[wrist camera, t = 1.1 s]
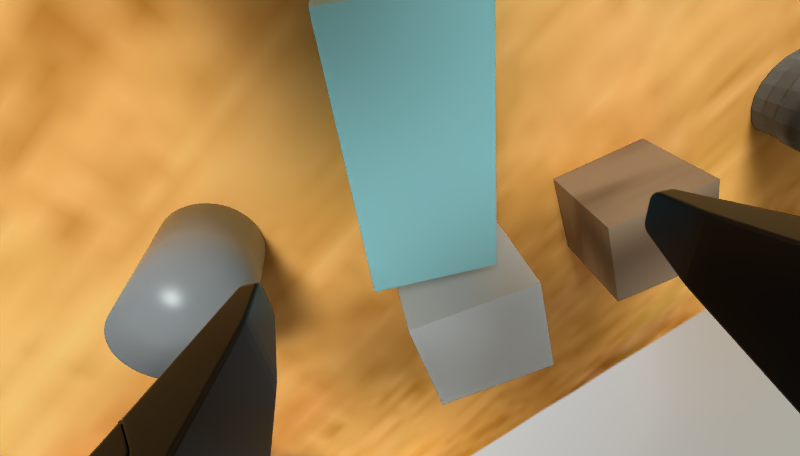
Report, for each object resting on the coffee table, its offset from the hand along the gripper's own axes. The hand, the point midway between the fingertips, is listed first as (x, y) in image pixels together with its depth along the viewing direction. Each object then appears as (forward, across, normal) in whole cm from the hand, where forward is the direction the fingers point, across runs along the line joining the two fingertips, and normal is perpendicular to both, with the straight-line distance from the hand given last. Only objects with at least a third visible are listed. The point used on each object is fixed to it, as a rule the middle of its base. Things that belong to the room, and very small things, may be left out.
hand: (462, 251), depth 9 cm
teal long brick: (+11, 0, 0) cm, 11 cm away
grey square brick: (+11, -2, +10) cm, 15 cm away
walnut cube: (+11, -11, +7) cm, 17 cm away
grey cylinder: (+11, +10, +5) cm, 16 cm away
